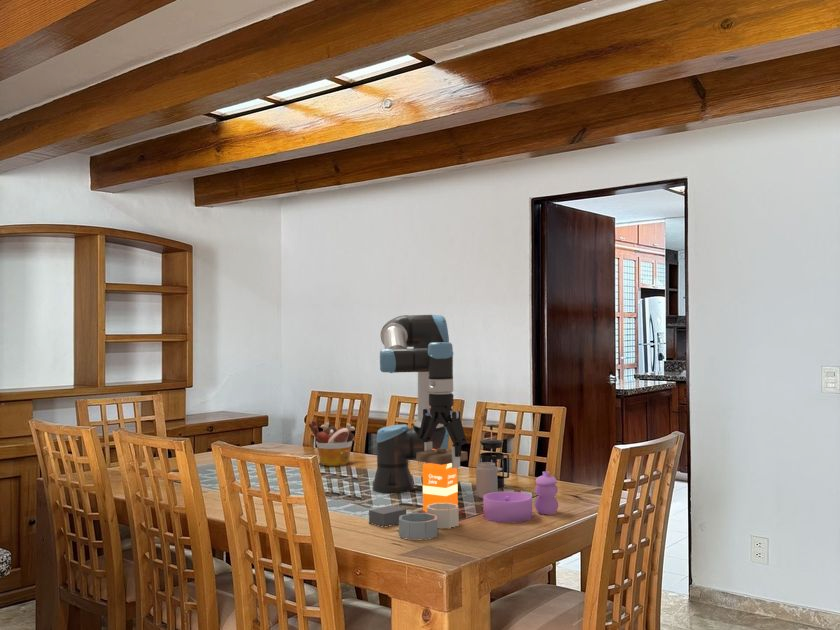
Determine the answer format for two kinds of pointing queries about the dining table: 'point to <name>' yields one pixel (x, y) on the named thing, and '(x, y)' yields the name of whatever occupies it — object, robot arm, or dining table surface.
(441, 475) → the orange juice
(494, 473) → the can
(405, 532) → the grey bowl
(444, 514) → the bowl
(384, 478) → the robot arm
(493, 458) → the french press
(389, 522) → the grey rectangular block
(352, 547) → the dining table surface
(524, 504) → the container set
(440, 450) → the lid
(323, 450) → the bucket of meat
